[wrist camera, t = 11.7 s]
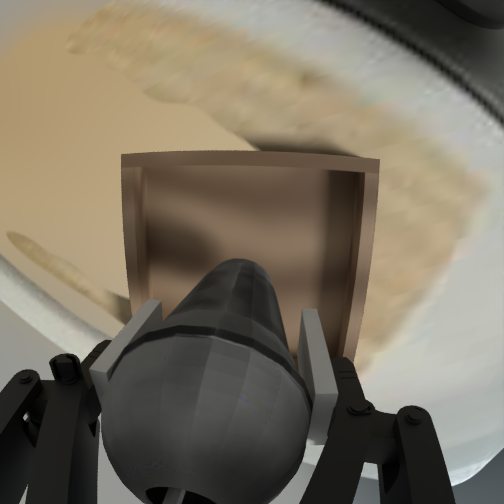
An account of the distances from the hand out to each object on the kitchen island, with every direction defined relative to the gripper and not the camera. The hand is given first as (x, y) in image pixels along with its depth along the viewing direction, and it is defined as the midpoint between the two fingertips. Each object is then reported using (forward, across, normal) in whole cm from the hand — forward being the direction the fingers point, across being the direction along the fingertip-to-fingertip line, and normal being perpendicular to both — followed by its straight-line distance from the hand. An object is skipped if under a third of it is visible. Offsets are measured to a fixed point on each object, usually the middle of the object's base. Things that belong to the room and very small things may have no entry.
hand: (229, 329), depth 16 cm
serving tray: (+10, 0, 0) cm, 10 cm away
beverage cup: (+5, 0, 0) cm, 5 cm away
